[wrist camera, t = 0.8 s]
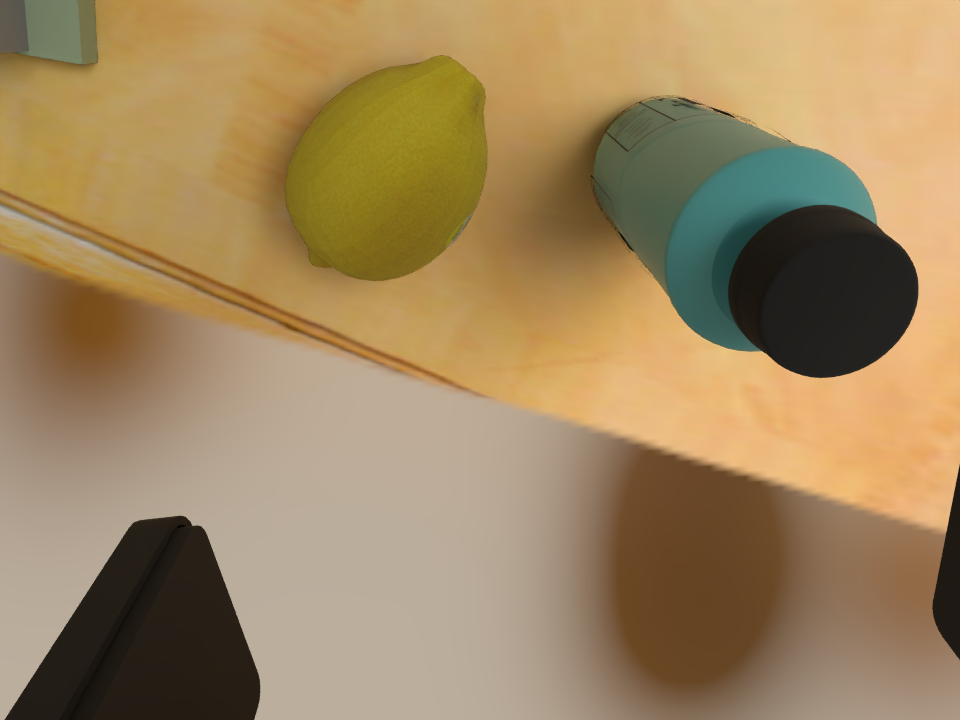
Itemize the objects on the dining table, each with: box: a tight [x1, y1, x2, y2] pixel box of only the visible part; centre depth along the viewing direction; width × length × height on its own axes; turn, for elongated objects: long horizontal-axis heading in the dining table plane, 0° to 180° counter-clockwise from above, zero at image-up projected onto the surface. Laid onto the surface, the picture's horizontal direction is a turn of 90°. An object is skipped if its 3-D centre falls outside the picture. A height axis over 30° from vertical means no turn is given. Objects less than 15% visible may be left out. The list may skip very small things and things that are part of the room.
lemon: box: [285, 55, 487, 281], centre depth 32 cm, size 11×8×8 cm
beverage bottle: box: [591, 95, 918, 378], centre depth 26 cm, size 6×7×20 cm
